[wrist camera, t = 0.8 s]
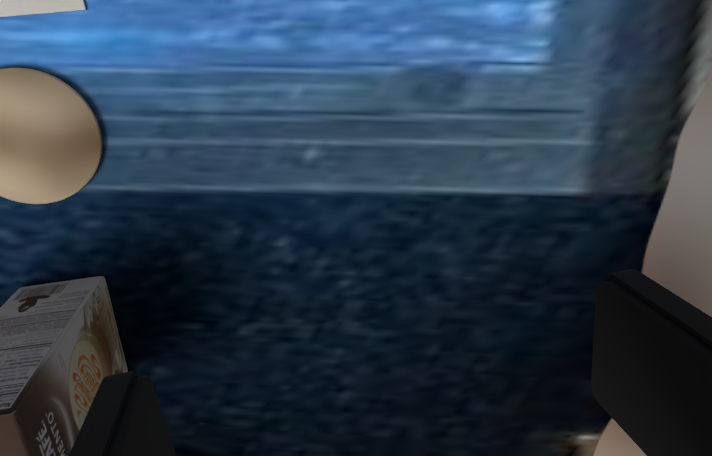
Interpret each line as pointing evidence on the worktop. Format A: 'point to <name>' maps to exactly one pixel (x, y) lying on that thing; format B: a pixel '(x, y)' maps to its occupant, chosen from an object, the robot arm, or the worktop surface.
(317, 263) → the worktop surface
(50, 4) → the tile
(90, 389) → the coffee box
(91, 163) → the cork coaster
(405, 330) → the worktop surface
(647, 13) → the worktop surface
